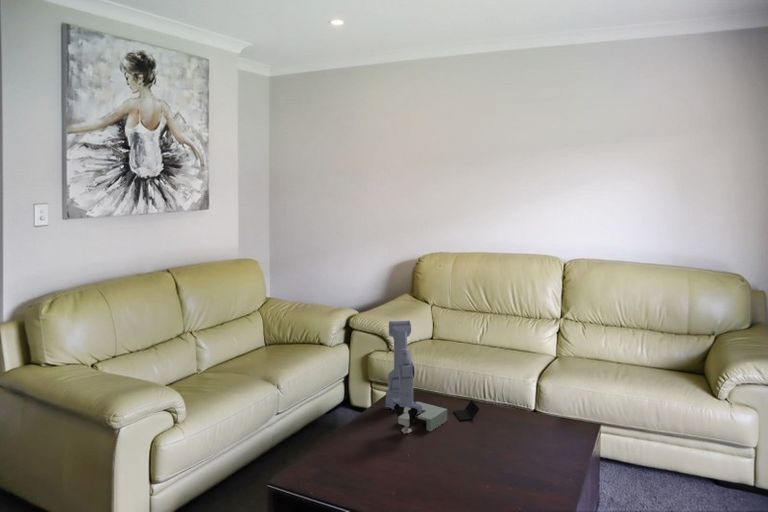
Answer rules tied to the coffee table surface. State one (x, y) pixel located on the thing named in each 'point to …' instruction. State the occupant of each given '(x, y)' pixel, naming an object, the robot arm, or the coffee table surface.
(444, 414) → the slot bracket
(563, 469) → the coffee table surface
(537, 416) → the coffee table surface
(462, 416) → the handheld gaming console
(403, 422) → the peg
